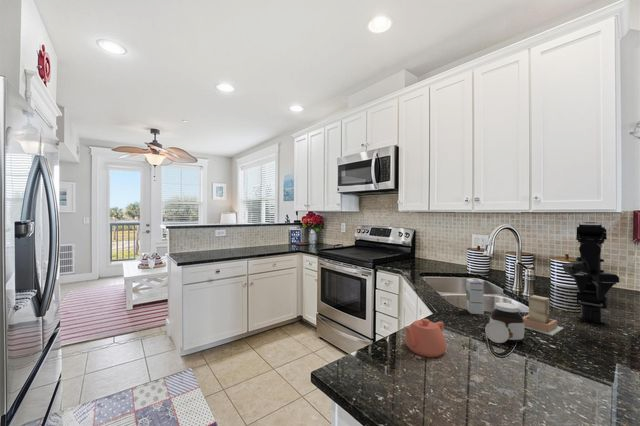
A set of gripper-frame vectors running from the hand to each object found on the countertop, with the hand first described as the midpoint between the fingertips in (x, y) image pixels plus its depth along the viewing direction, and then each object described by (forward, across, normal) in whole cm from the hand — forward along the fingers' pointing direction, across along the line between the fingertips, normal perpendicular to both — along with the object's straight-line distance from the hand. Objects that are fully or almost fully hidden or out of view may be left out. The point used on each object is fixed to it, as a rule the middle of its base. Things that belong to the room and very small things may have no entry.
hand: (590, 296), depth 107 cm
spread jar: (+13, +17, -37) cm, 43 cm away
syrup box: (+13, -12, -37) cm, 41 cm away
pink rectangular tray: (+13, +1, -18) cm, 22 cm away
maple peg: (+13, +1, -18) cm, 22 cm away
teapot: (+13, +31, -66) cm, 74 cm away
